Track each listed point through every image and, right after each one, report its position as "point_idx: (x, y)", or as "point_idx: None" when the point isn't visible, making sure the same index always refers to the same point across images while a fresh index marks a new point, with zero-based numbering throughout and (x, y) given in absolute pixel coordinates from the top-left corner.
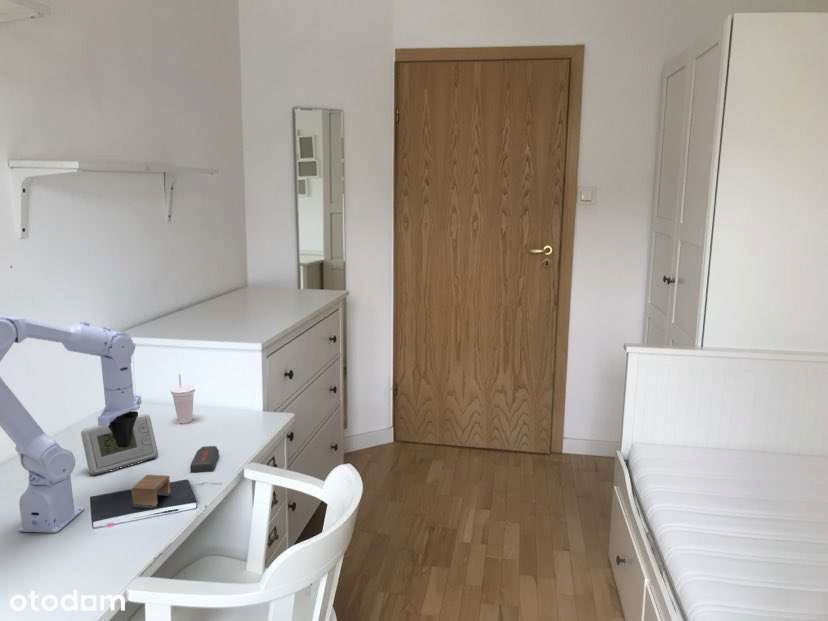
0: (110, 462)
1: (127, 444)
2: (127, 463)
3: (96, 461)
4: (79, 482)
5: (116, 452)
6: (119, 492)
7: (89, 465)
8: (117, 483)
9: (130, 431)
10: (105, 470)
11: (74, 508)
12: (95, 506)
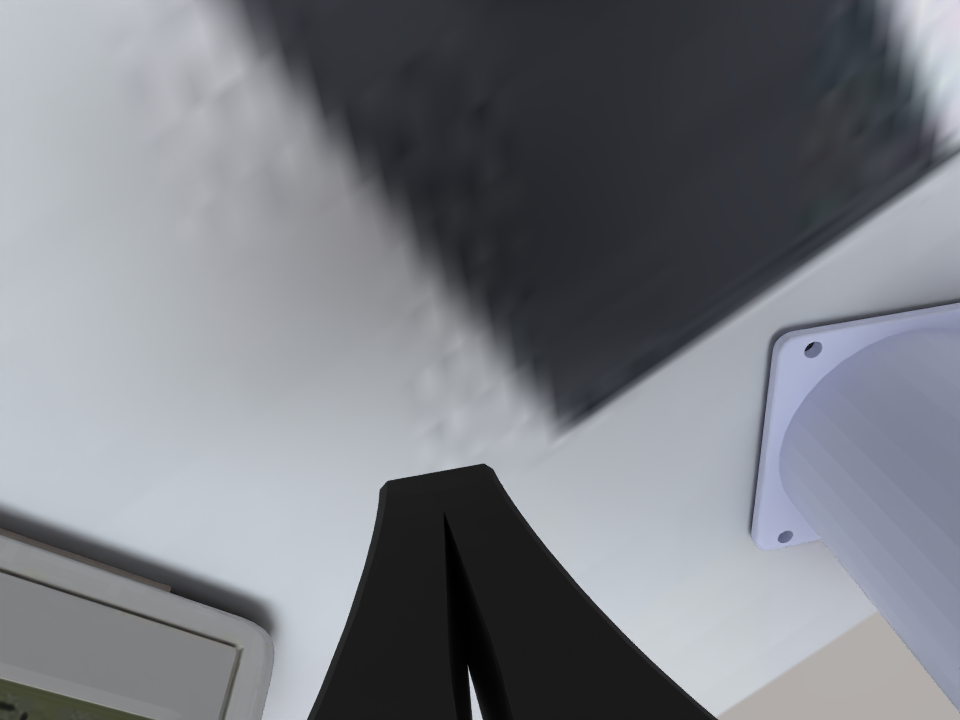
0: (127, 633)
1: (497, 487)
2: (4, 539)
3: (220, 706)
4: None
5: (21, 689)
6: (472, 276)
7: (262, 708)
8: (321, 397)
9: (450, 672)
10: (190, 600)
11: (794, 393)
12: (716, 297)
